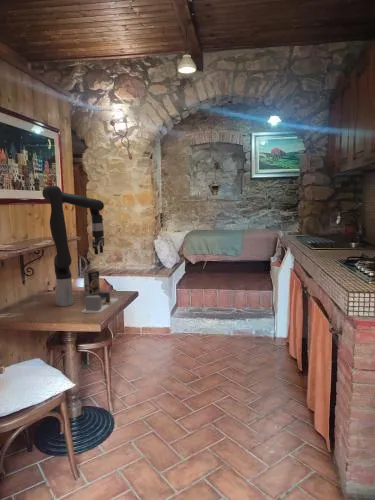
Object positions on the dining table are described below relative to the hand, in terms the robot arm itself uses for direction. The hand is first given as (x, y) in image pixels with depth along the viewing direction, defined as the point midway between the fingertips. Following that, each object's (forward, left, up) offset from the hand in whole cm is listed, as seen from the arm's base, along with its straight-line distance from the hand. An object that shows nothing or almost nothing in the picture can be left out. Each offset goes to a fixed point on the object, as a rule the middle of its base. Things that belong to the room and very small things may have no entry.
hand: (99, 253), depth 255 cm
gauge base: (+10, -23, -30) cm, 39 cm away
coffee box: (-10, +8, -30) cm, 33 cm away
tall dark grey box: (+11, -24, -29) cm, 39 cm away
